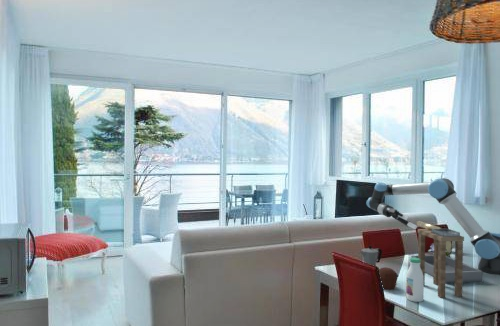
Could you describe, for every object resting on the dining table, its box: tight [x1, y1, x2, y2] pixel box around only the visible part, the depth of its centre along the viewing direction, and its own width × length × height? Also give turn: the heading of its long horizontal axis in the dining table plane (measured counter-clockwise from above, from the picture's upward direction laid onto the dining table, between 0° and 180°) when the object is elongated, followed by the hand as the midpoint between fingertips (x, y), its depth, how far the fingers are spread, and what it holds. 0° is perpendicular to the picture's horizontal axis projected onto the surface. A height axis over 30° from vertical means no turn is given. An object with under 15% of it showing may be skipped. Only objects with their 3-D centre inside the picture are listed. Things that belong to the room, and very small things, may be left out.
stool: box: [417, 228, 465, 299], centre depth 200 cm, size 21×12×30 cm, turn 7°
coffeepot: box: [360, 244, 383, 267], centre depth 224 cm, size 15×9×18 cm, turn 113°
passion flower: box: [427, 242, 450, 257], centre depth 269 cm, size 11×11×12 cm
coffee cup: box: [446, 241, 453, 254], centre depth 281 cm, size 9×9×12 cm
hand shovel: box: [416, 220, 461, 237], centre depth 205 cm, size 29×9×3 cm, turn 7°
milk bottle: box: [405, 257, 425, 303], centre depth 188 cm, size 8×8×20 cm
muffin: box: [378, 267, 399, 291], centre depth 205 cm, size 12×11×10 cm
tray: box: [410, 254, 484, 285], centre depth 229 cm, size 35×22×6 cm, turn 7°
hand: (411, 223), depth 243 cm, fingers open, 13 cm apart
